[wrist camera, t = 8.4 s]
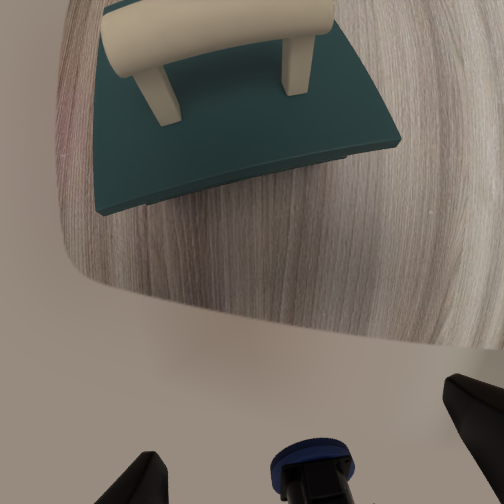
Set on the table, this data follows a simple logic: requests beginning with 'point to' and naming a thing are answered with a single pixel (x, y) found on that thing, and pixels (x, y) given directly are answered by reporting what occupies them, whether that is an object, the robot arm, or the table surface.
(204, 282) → the table surface
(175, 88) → the lid
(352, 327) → the table surface
